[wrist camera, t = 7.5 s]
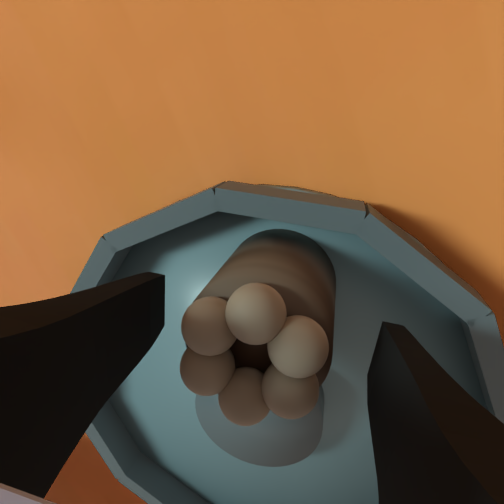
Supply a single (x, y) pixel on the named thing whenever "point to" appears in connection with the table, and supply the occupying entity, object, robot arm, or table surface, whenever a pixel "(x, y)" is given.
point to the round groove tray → (343, 360)
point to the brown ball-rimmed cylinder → (263, 329)
